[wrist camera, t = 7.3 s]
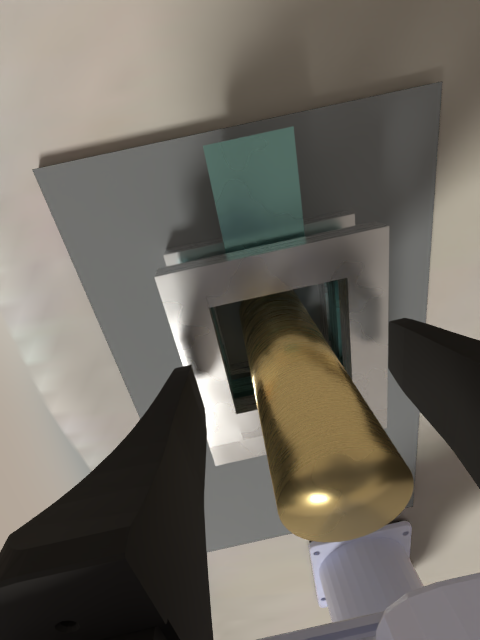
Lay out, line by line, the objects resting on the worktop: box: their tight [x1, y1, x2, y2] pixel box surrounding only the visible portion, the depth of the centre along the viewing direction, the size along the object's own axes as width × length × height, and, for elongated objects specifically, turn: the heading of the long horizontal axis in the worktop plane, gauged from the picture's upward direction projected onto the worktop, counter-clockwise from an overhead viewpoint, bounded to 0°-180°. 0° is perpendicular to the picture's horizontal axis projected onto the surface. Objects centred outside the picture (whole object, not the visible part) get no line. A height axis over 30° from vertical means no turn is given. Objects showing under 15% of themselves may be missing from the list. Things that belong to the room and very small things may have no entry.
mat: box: [32, 82, 442, 552], centre depth 19 cm, size 26×16×1 cm, turn 11°
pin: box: [239, 290, 414, 542], centre depth 12 cm, size 3×3×10 cm
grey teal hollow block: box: [154, 126, 389, 466], centre depth 14 cm, size 13×8×4 cm, turn 11°
